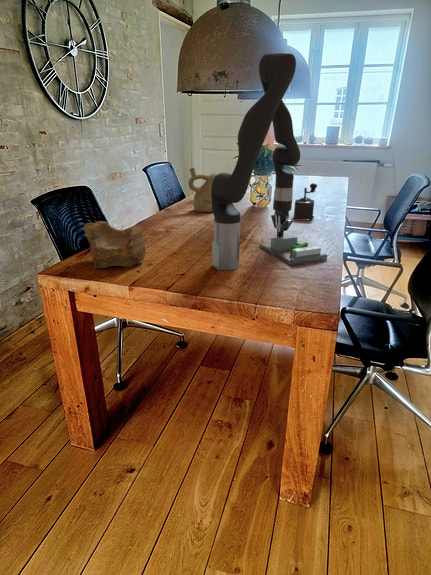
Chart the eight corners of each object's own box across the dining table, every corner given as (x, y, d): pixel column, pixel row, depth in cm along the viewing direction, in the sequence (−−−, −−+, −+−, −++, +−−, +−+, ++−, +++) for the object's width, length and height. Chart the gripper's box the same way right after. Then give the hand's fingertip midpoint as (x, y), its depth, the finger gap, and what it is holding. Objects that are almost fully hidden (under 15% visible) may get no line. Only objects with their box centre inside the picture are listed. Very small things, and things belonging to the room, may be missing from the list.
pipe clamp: (298, 251, 158) (299, 241, 156) (306, 253, 156) (308, 242, 154) (286, 258, 149) (287, 247, 148) (295, 260, 147) (296, 249, 146)
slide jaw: (274, 251, 156) (274, 240, 154) (270, 249, 159) (271, 238, 157) (296, 248, 160) (297, 237, 158) (292, 246, 163) (293, 235, 161)
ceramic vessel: (224, 212, 222) (225, 168, 212) (191, 214, 218) (190, 169, 208) (217, 207, 238) (217, 165, 227) (186, 208, 233) (185, 166, 223)
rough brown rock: (71, 271, 137) (64, 232, 130) (94, 253, 151) (89, 217, 144) (131, 279, 133) (127, 239, 125) (149, 260, 147) (146, 223, 140)
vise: (292, 265, 141) (293, 253, 139) (259, 247, 162) (260, 235, 160) (326, 260, 147) (328, 248, 145) (291, 243, 168) (292, 232, 166)
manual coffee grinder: (313, 220, 206) (317, 187, 199) (293, 219, 209) (296, 186, 201) (313, 214, 220) (317, 182, 213) (294, 213, 222) (297, 182, 215)
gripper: (266, 196, 158) (264, 236, 165) (284, 202, 147) (280, 244, 154) (282, 195, 161) (278, 234, 168) (300, 200, 150) (296, 242, 157)
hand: (279, 239), depth 161 cm, fingers closed
